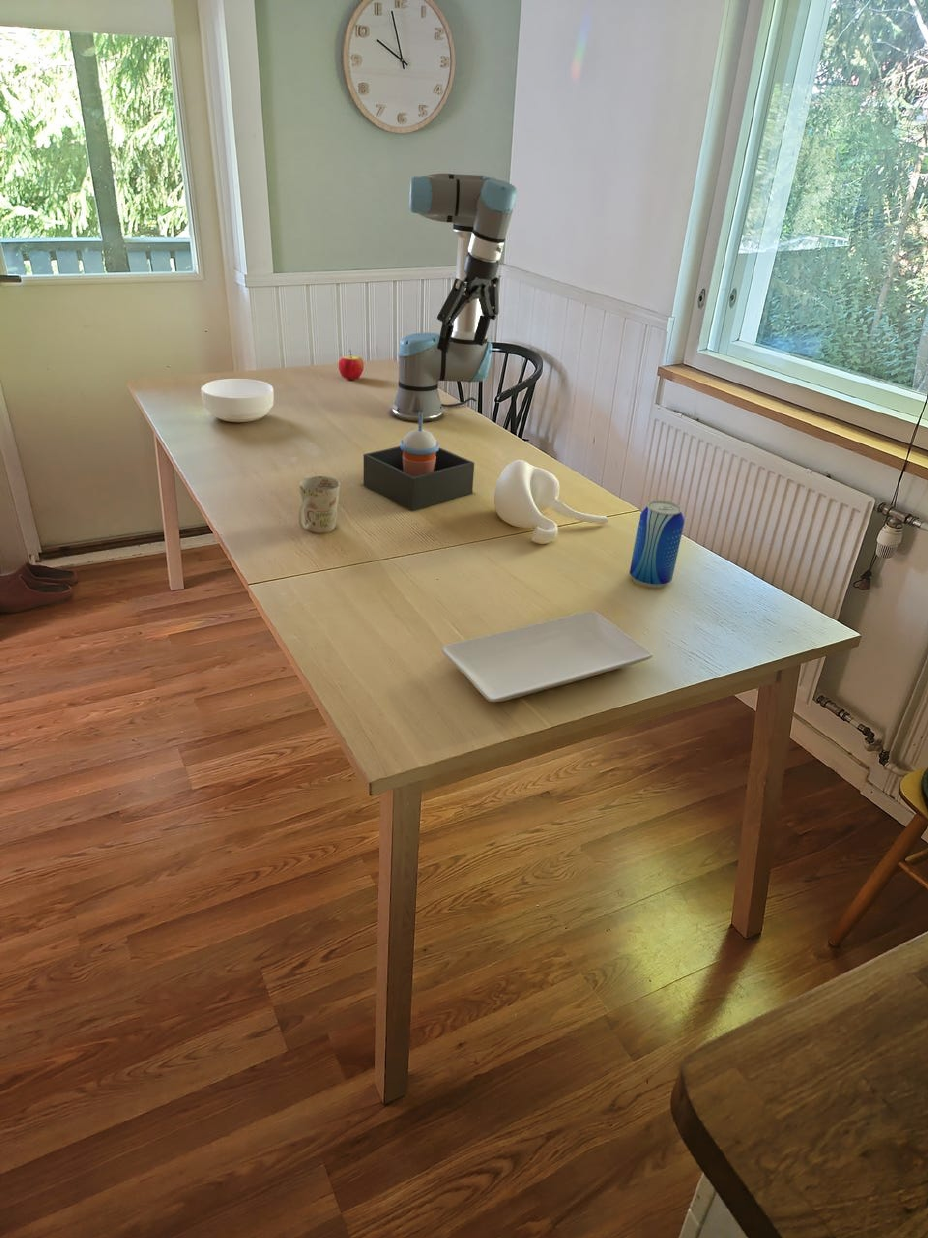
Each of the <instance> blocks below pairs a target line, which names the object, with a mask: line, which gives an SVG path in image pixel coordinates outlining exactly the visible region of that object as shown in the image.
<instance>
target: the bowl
mask: <svg viewBox="0 0 928 1238" xmlns="http://www.w3.org/2000/svg"><path fill="white" fill-rule="evenodd" d="M200 391H201V399H202V404H203V407H204V408H205V409H206V410H208V412H209V413H210V414H211V415H213V416H214V417H216V418H218V419H220V420H221V421H225V422H232V423H246V422H247V423H248V422H253V421H256V420H259V419H261V418H263V417H264V416H265V415H267V414H268V413H269V411H270V410H271V409H272V408H273V407H274V401H275V400H274V399H275V397H274V396H275V394H274V387H273V386H272V385H271V384H270V383H268V382H265V381H260V380H256V379H248V378H227V379H226V378H225V379H217V380H213V381H209V382H207V383H205V384H203V385H202V386H201V387H200Z"/></svg>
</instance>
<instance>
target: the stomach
mask: <svg viewBox="0 0 928 1238" xmlns="http://www.w3.org/2000/svg"><path fill="white" fill-rule="evenodd" d="M559 494H560V482H559V480H558V478H557V477H556V476H555V475H554V474H553V473H551V472H550V471H549V470H546V469H543V468H540V467H537V466H534V465H531V464H530V463H528V462H527V461H525V460H522V459H516V460H513V461H511V462H510V463H509V464H507V465H506V466H505V467H504V469H503V470H502V471H501V473H500V474H499V476H498V478H497V480H496V482H495V486H494V490H493V506H494V509H495V512H496V514H497V515H498V517H499V518H500V519H501V520H502V521H503V522H504V523H506V524H508V525H511V526H513V527H515V528H520V529H533V532H532V534H531V542H535V544H541V545H545V544H549V543H551V542H553V541H554V540H555V539H556V537H557V536H558V532H559V531H558V530H559V529H558V525H557V523H556V522H555V521H554V520H552V519H550V518H548V517H546V516H544V515H543V514H544V513H546V512H548V511H549V510H553V511H554V512H555V513H556V514H558V515H559V516H561V517H565V518H569V519H571V520H576V521H579V522H583V523H588V524H597V525H607V524H608V523H609V519H608V517H607V516H605V515H596V514H589V513H585V512H584V513H583V512H580V511H577V510H575V509H574V508H571V507H570V506H568V505H566V504H565V503H564V501H562V500H559Z"/></svg>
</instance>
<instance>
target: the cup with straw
mask: <svg viewBox="0 0 928 1238" xmlns="http://www.w3.org/2000/svg"><path fill="white" fill-rule="evenodd" d="M423 423H424V422H423V412H419V422H418V429H413V430H411V431H409V432H408V433H406V435H405V437H404V438H403V439H402V440H401V442H400V444H399V446H400V448H401V449H402V450H403V470H404V472H405V473H407V474H409V475H411V476H413V477H416V476H419V475H423V474H427V473H431V472H434V467H435V460H436V456H435V455H436V452H437V451H438V450H439V448H440V444H439V442H438V441H437V440H436V438H435V435H433V433H432V432H430V431H428V430H425V429H423Z"/></svg>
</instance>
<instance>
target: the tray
mask: <svg viewBox="0 0 928 1238" xmlns="http://www.w3.org/2000/svg"><path fill="white" fill-rule="evenodd" d="M441 653H442V654H443V655H444V656H445V657H446V658H447V659H448V660H449V661H450V662H451V663H452V664H453V665H454V666H455V667H456V668H457V669H458V670H459V671H460V673H462V674H463V675H464V676H465V677H466V678H467V680H468V681H469V682H470V683H471V685H473V687H474V688H475V689H476V690H477V691H478V692H479V693H480V694H481V695H482V697H484V699H486V701H488V702H490V703H502V702H503V703H504V702H508V701H511V700H514V699H518V698H520V697H525V696H527V695H528V696H529V695H531V694H535V693H538V692H542V691H544V690H549V689H553V688H555V687H560V686H564V685H566V684H569V683H573V682H577V681H580V680H584V679H587V678H590V677H594V676H598V675H601V674H606V673H608V672H613V671H615V670H619V669H622V668H623V669H624V668H626V667H629V666H632V665H636V664H639V663H643V662H645V661H647V660H649V659H650V660H651V658H653V653H652V652H651V651H650V650H649V649H647V648H646V647H645V646H643V645H642V644H641V643H639V642H638V641H637V640H635V639H634V638H633V637H631V636H630V635H629V634H628V633H626V632H625V631H624V630H622V629H620V628H619V627H618V626H617V625H616V624H614V623H612V622H611V621H610V620H608V619H607V618H606V617H605V616H603V615H602V614H600V613H599V612H597V611H595V610H586V611H582V612H578V613H574V614H571V615H567V616H562V617H558V618H554V619H550V620H546V621H545V620H544V621H542V622H538V623H534V624H529V625H526V626H521V627H517V628H513V629H509V630H503V631H500V632H496V633H491V634H488V635H487V634H486V635H483V636H479V637H475V638H471V639H467V640H462V641H458V642H454V643H450V644H445V645H443V646H442V647H441Z"/></svg>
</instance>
